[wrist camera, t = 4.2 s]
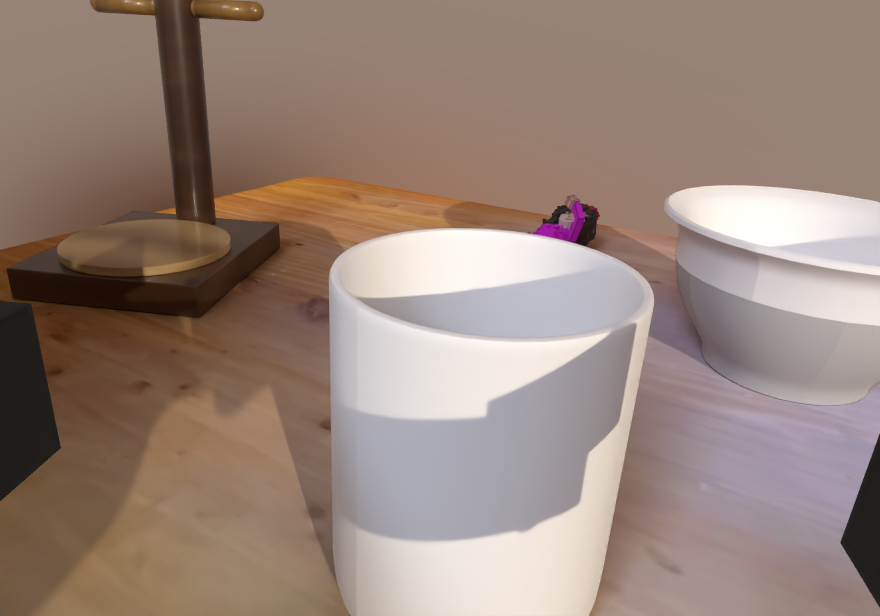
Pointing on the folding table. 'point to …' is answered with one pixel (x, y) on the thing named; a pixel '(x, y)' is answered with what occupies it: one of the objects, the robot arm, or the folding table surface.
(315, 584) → the folding table surface
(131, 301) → the mug stand
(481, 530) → the mug
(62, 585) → the folding table surface
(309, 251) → the folding table surface
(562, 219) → the character figurine
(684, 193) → the bowl
